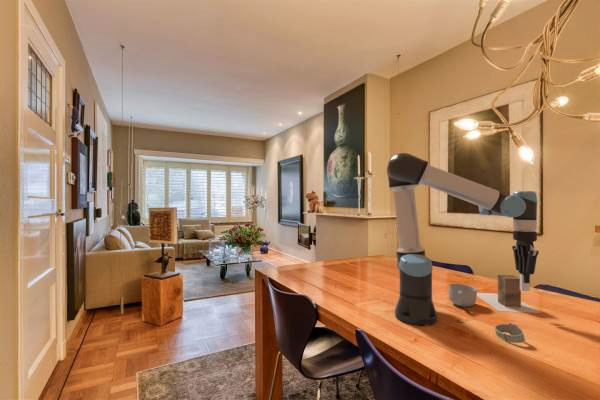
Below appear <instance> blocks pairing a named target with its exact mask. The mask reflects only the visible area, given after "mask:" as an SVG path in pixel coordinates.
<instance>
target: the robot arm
mask: <svg viewBox="0 0 600 400" xmlns="http://www.w3.org/2000/svg"><path fill="white" fill-rule="evenodd" d="M386 175H387V181H388V188H389V190H391V191H392V192H393V199H394V211H395V217H396V226H397V227H396V228H397V236H398V248H397V249H396V260H397V262H396V267H397V270H398V274H399V297H398V300H397V302H396V305H395V309H394V316H395V318H396V319H397V320H398V321H401V322H404V323H405V324H409V325H415V326H430V325H434V324H436V323H437V321H438V313H437V310H436V308H435V305H434V302H433V263H432V260H431V258H429V257H428V256H426V250H425V248H424V247H423V246H422V245H421V239H420V231H419V221H418V212H417V202H416V194H415V189H416V188H417V187H418V186H419V185H424V186H426V187H429V188H432V189H434V190H437V191H439V192H442V193H445V194H447V195H450V196H452V197H455V198H457V199H459V200H463V201H466V202H467V203H470V204H473V205H476V206H478V211H479V214H481V215H482V216H483V215H485V216H499V217H507V218H512V229H513V231H512V239H513V240H514V241H516V242H515V245H512V246H511V248H512V250H513V256H514V264H515V270H516V271H518V273H519V278H520V290H521V292H530V289H531V288H530V283H531V282H530V280H531V279H530V278H531V275H534V274H535V270H536V265H537V258H538V255H539V253H540V251H539V250H535V245H534V242H537V240H538V232H537V230H538V228H537V227H538V226H537V224H538V221H537V220H538V216H537V215H538V197H537V196H538V195H537V192H535V191H533V190H532V191H531V190H523V191H522V190H521V191H519V190H517V191H514V192H513V193H512V195H510V194H509V193H505V192H502V191H499V190H497V189H494V188H492V187H489V186H486V185H484V184H481V183H477V182H476V181H473V180H470V179H467V178H465V177H462V176H459V175H456V174H454V173H451V172H448V171H446V170H444V169H441V168H438V167H435V166H433V165H431V164H430V162H429V161H428V160H427V161H426V160H424V159H421V157H420V158H419V157H417V156H415V155H413V154H411V153H407V152H400V153H396V154H394V155H393V156H392V157H391V158H390V159H389V161H388V163H387V167H386Z"/></svg>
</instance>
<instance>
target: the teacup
mask: <svg viewBox="0 0 600 400" xmlns="http://www.w3.org/2000/svg"><path fill="white" fill-rule="evenodd" d="M477 293H478V288H476V287H474V286H472V285H467V284H465V283H450V284H448V298H449V299H448V300H450V301H451V302H452V303H453V305H455V306H458V307H462V308H465V307H467V308H469V307H472V306H473V305H476V302H477V297H478V296H477Z"/></svg>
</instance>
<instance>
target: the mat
mask: <svg viewBox="0 0 600 400" xmlns="http://www.w3.org/2000/svg"><path fill="white" fill-rule="evenodd" d="M476 297H477V298H479V299H481V300H482V301H484V302H485V303H487V304H488V305H490V306H491V307H492V308H494V310H497V311H498V312H512V313H514V312H515V313H535V314H536V313H539V314H542V311H540V310H538V309H536V308H534V307H532V306H530V305H529V304H527V303H525V302H523V301H522V300H521V308H515V307H504V306H503V305H501V304H500V303H498V293H492V292H491V293H488V292H487V293H486V292H477V296H476Z"/></svg>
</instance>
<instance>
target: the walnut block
mask: <svg viewBox="0 0 600 400" xmlns="http://www.w3.org/2000/svg"><path fill="white" fill-rule="evenodd" d="M497 294H498V303H500V304H501V305H503V306H504V307H515V308H521V301H522V291H521V290H520V277H517V276H515V275H512V274H510V275H509V274H508V275H506V274H497Z"/></svg>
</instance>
